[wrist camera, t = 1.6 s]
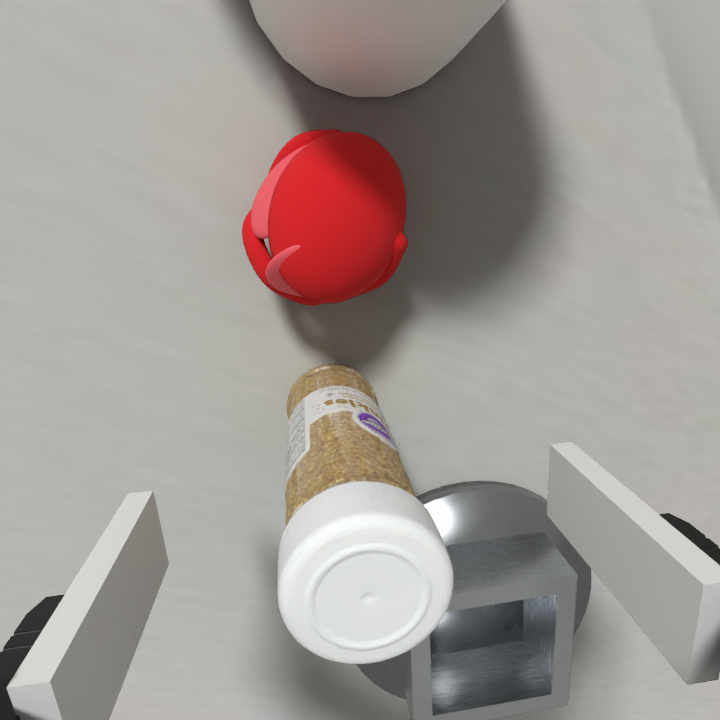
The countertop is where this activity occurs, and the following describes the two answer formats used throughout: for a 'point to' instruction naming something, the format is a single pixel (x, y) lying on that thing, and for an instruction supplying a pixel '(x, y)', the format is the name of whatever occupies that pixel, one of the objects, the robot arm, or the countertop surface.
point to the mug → (371, 39)
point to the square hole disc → (494, 610)
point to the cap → (328, 218)
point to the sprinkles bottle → (354, 529)
